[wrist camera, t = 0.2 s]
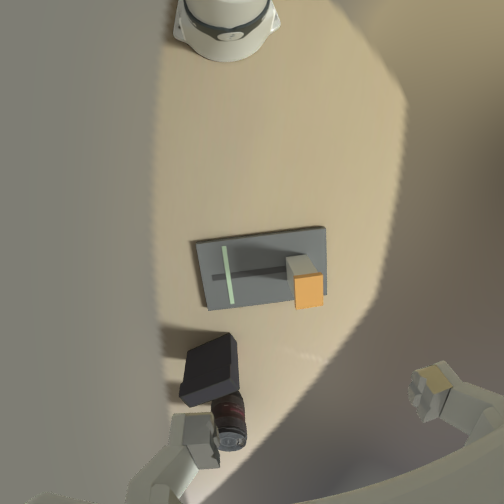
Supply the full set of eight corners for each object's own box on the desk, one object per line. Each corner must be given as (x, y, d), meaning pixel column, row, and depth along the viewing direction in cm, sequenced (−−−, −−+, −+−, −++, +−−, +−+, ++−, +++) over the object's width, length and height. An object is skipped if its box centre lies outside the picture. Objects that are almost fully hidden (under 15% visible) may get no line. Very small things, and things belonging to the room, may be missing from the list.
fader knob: (283, 255, 59) (294, 279, 49) (308, 252, 59) (322, 275, 49) (285, 282, 60) (296, 309, 51) (309, 279, 61) (323, 305, 51)
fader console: (196, 242, 58) (195, 244, 57) (323, 226, 59) (326, 228, 57) (208, 307, 63) (208, 311, 62) (325, 292, 64) (327, 295, 62)
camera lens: (243, 384, 71) (247, 431, 57) (243, 405, 74) (247, 451, 60) (209, 384, 70) (208, 432, 56) (212, 406, 73) (211, 452, 59)
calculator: (196, 362, 68) (191, 410, 54) (185, 349, 66) (178, 397, 52) (238, 344, 67) (242, 392, 53) (229, 330, 65) (230, 378, 51)
